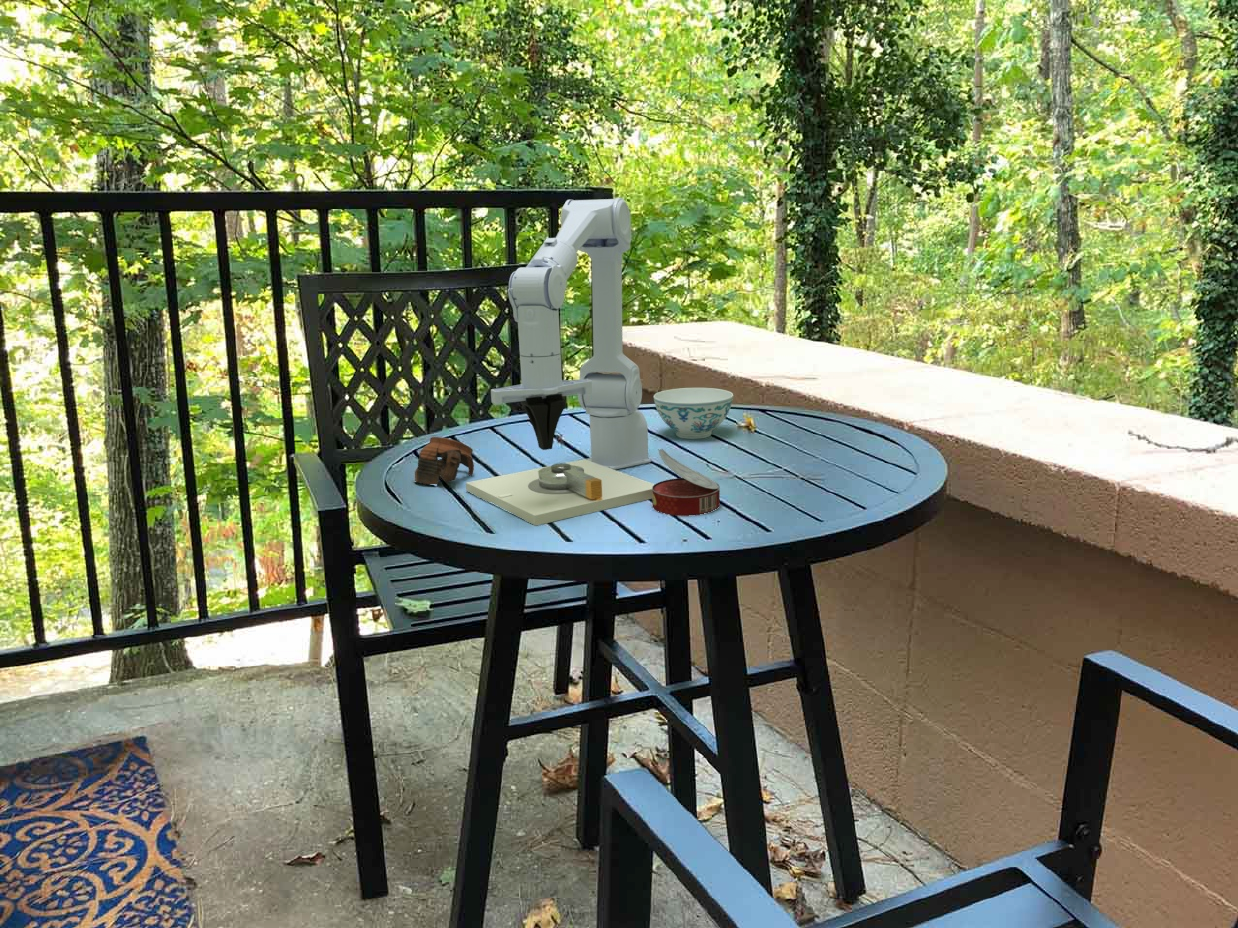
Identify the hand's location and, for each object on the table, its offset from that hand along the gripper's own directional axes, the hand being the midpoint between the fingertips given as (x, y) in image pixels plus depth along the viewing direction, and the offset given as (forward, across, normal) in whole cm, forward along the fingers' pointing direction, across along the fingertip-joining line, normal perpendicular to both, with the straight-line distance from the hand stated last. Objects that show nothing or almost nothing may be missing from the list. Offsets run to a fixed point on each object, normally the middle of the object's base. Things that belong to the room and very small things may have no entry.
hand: (545, 448), depth 141 cm
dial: (+8, +5, +4) cm, 10 cm away
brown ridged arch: (+10, -9, +24) cm, 28 cm away
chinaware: (+10, +41, +32) cm, 53 cm away
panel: (+9, +5, +7) cm, 13 cm away
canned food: (+10, +18, -8) cm, 22 cm away
